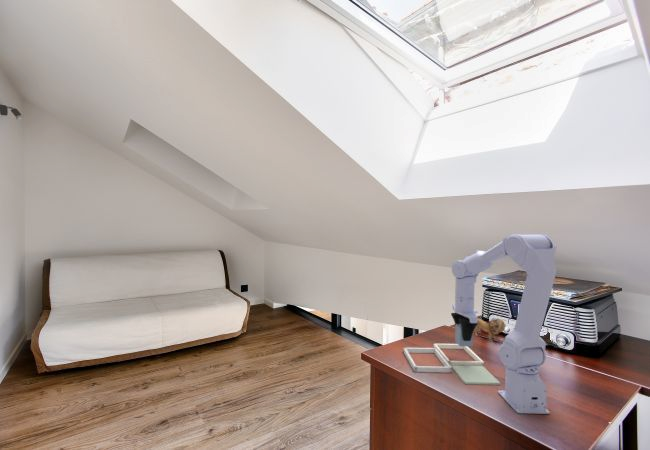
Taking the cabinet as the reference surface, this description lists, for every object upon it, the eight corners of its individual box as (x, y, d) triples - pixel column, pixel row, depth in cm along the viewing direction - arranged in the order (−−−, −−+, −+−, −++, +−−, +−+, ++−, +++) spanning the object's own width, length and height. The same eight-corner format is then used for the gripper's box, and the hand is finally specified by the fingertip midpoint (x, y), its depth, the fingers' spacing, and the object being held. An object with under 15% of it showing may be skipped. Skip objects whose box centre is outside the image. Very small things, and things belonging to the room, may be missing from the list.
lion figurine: (507, 342, 123) (508, 319, 122) (500, 345, 119) (501, 321, 119) (471, 330, 134) (471, 309, 134) (464, 333, 131) (464, 311, 131)
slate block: (472, 346, 102) (472, 327, 102) (460, 346, 102) (460, 327, 102) (467, 341, 106) (467, 323, 106) (455, 341, 106) (455, 323, 106)
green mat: (500, 384, 91) (500, 382, 91) (465, 384, 91) (465, 382, 91) (483, 368, 101) (483, 366, 101) (451, 367, 101) (451, 365, 101)
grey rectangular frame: (451, 372, 98) (452, 367, 98) (414, 372, 98) (414, 367, 98) (435, 352, 112) (435, 348, 112) (403, 351, 113) (403, 347, 112)
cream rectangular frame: (484, 367, 102) (484, 362, 102) (448, 366, 102) (448, 361, 102) (464, 348, 116) (464, 344, 116) (433, 347, 116) (433, 343, 116)
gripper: (488, 302, 97) (486, 346, 97) (467, 291, 111) (466, 330, 111) (464, 302, 97) (463, 346, 97) (447, 291, 111) (446, 329, 111)
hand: (463, 337), depth 104 cm, fingers closed on slate block, 4 cm apart
